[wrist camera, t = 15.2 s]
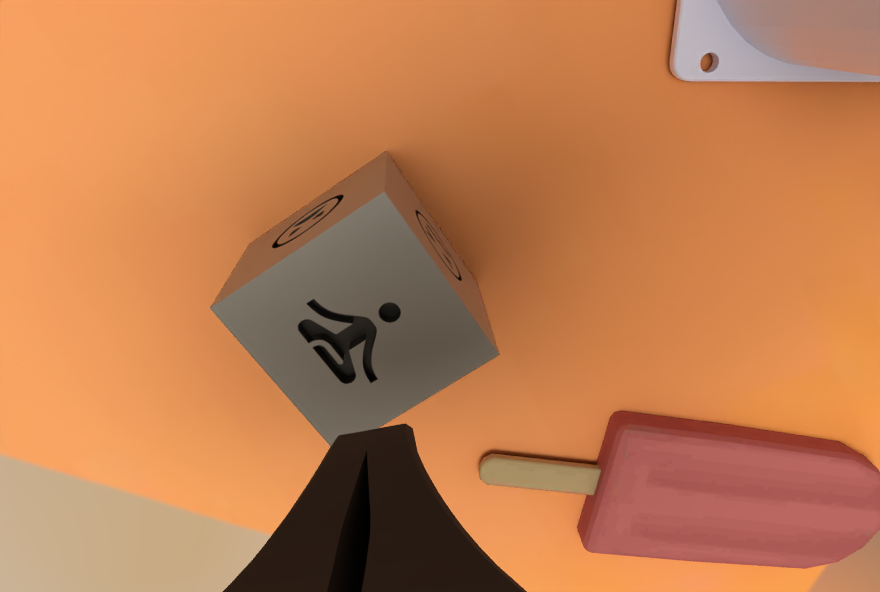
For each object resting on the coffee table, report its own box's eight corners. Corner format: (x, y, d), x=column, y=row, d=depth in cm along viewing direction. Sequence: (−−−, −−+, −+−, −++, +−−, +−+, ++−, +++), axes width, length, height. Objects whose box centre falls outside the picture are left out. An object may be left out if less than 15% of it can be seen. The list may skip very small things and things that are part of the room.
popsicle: (498, 414, 23) (917, 462, 24) (491, 389, 24) (888, 437, 26) (467, 545, 25) (858, 580, 26) (463, 515, 26) (834, 551, 28)
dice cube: (249, 243, 21) (209, 308, 17) (386, 150, 20) (384, 191, 16) (348, 363, 23) (336, 453, 18) (477, 282, 22) (499, 354, 18)
